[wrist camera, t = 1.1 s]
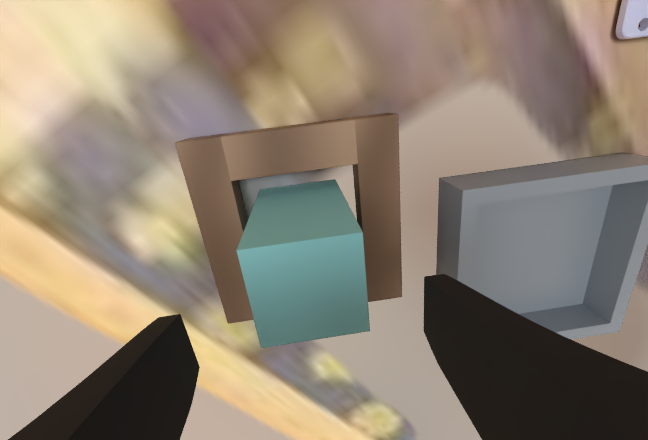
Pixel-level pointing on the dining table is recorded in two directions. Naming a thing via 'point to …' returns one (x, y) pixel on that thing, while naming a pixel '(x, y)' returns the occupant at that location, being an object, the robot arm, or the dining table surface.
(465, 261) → the tray
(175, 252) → the dining table surface
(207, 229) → the tan square frame
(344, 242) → the peg
